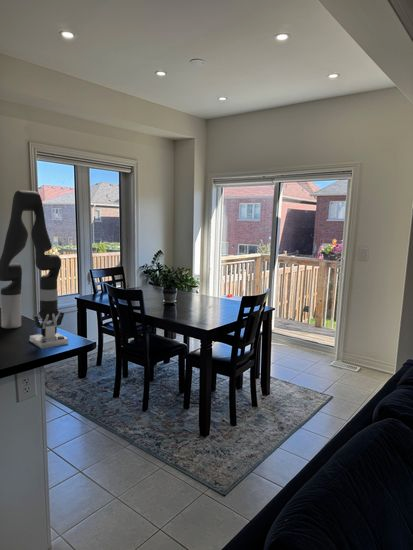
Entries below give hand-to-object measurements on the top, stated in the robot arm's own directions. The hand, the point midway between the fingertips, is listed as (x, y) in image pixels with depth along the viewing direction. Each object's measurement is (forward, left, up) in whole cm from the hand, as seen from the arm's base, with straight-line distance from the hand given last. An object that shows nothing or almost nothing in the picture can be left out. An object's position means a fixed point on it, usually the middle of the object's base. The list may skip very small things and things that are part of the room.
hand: (48, 335), depth 174 cm
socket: (0, 0, -3) cm, 3 cm away
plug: (0, 0, -1) cm, 1 cm away
